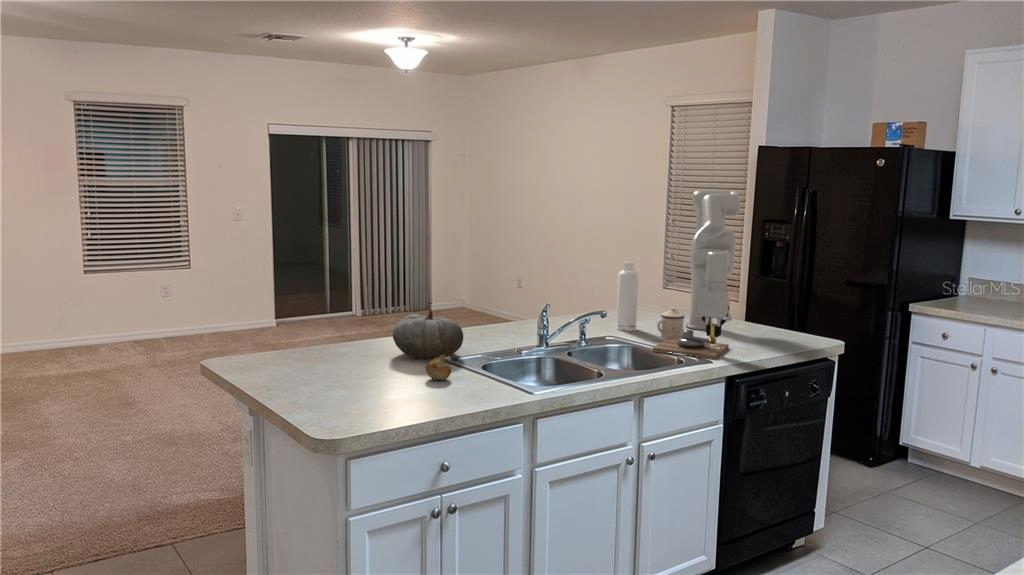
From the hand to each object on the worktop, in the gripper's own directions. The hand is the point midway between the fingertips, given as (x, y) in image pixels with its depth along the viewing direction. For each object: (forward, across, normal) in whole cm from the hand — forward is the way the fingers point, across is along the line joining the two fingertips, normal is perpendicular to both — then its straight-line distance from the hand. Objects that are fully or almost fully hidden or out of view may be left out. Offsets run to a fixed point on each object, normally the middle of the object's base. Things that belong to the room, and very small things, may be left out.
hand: (713, 335), depth 288 cm
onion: (+7, -55, -88) cm, 104 cm away
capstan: (+5, -6, 0) cm, 8 cm away
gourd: (+7, -78, -68) cm, 104 cm away
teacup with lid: (+7, -24, +16) cm, 30 cm away
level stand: (+7, -9, +1) cm, 11 cm away
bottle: (+7, -45, +19) cm, 49 cm away
